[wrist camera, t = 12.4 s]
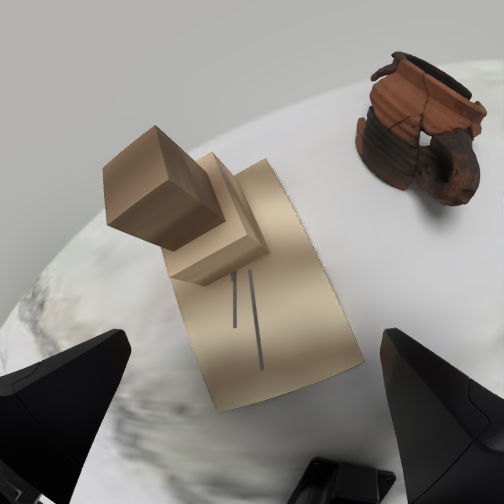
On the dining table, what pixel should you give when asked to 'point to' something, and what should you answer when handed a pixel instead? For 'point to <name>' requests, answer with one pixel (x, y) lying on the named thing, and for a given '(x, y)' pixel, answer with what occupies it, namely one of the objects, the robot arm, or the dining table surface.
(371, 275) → the dining table surface
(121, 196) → the block
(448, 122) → the pottery mug
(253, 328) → the pine board
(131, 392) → the dining table surface
